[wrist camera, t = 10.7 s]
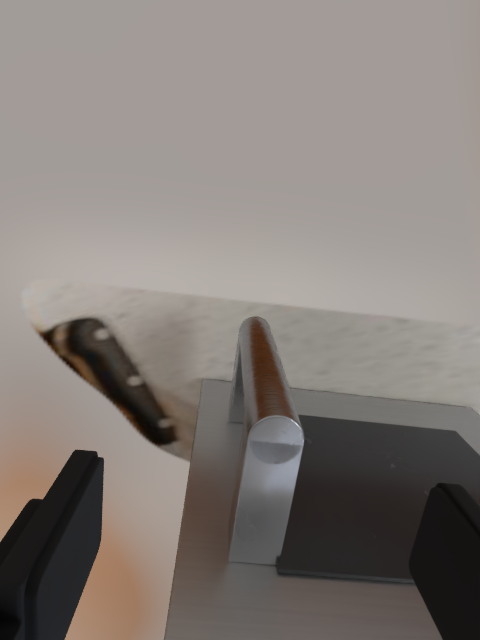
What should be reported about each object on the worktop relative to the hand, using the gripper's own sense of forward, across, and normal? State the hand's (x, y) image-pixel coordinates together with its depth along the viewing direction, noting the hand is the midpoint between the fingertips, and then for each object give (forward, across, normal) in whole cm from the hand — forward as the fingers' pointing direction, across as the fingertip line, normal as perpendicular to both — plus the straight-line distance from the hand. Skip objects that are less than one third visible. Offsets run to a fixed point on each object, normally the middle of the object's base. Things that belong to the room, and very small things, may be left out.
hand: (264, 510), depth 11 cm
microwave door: (+19, -8, +2) cm, 21 cm away
